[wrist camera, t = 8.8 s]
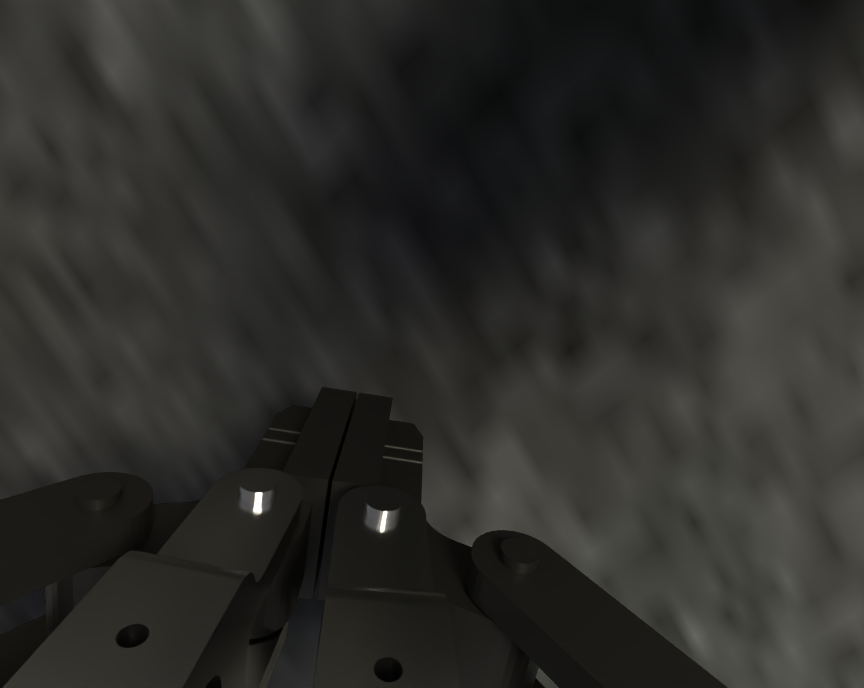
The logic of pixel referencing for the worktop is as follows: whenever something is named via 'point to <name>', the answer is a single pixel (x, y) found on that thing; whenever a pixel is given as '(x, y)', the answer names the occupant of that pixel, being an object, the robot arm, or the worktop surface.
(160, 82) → the worktop surface
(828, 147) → the worktop surface
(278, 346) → the worktop surface
